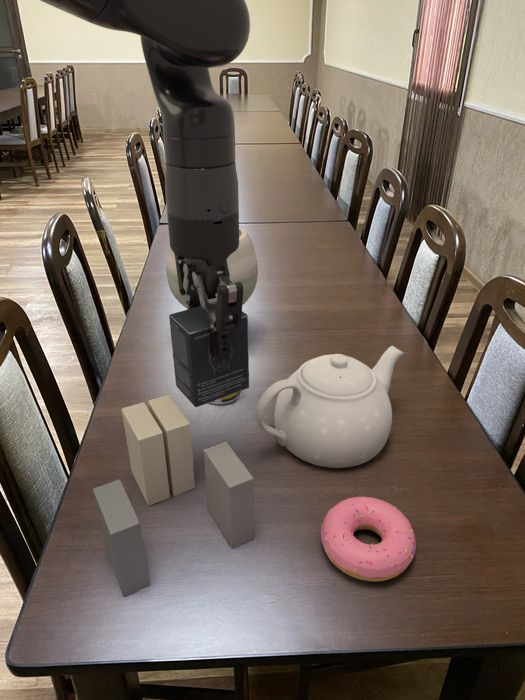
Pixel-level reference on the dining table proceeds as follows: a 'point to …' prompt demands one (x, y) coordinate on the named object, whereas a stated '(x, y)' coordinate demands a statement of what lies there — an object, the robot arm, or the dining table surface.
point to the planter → (239, 267)
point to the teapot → (333, 409)
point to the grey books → (222, 500)
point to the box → (207, 358)
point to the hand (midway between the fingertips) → (209, 343)
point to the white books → (159, 448)
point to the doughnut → (362, 557)
